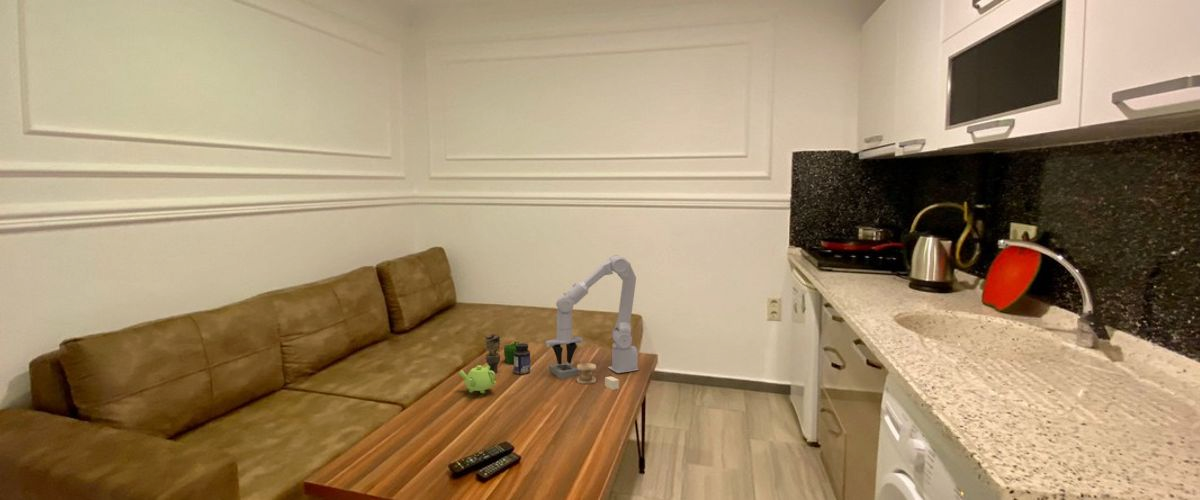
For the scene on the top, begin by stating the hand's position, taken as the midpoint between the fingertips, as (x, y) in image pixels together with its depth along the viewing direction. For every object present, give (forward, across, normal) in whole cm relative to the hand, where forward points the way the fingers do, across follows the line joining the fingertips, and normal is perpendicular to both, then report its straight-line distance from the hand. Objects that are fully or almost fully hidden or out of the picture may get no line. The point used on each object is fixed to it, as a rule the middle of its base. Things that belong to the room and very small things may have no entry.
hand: (564, 363), depth 195 cm
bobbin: (+4, -4, +11) cm, 12 cm away
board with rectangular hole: (+4, 0, 0) cm, 4 cm away
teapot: (+4, +34, +3) cm, 34 cm away
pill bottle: (+4, +14, -8) cm, 17 cm away
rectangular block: (+4, -9, +21) cm, 23 cm away
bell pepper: (+4, +13, -20) cm, 24 cm away
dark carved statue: (+4, +24, -13) cm, 28 cm away
